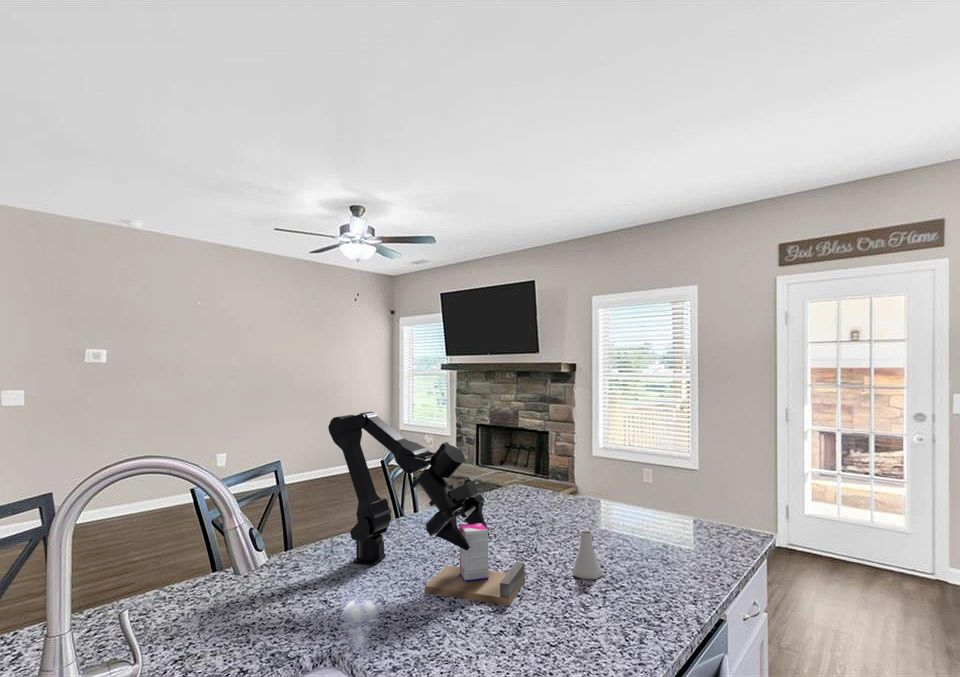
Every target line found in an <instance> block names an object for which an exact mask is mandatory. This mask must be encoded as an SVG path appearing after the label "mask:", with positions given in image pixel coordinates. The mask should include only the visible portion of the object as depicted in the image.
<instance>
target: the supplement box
mask: <svg viewBox="0 0 960 677" xmlns="http://www.w3.org/2000/svg"><path fill="white" fill-rule="evenodd" d="M459 530H460V532H461V533H462V535H463V536H464V538H465V539H466V541H467V543H468V545H469V546H470V548H469V549H468V550H467V551H466V550H464V549H462V548H460V547H459V567H460V574H461V576H462V578H463V580H464V581H465V583H467V582H474V581H482V580H488V579H489V571H490V570H489V536H488V532H489V528H488V527H487V528H486V527H485V526H484V525H483V524H482V523H476V524H468V523H466V524H459Z"/></svg>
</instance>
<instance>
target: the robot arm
mask: <svg viewBox="0 0 960 677" xmlns="http://www.w3.org/2000/svg"><path fill="white" fill-rule="evenodd" d="M327 428H328V433H329V434H330V436H331V440H332V441H333V443H335V445H336V446H338V448H339V449H340V450H342V453H343V457H344V459H345V463H346V466H347V469H348V472H349V475H350V479H351V482H352V484H353V488H354V492H355V495H356V498H357V501H358V504H357V509H356V518H357V522H356V524H355V525H354V526H353V527H352V528H351V529H350V531H349V533H350V538H351V540H353V541H355V544H356V545H355V546H356V548H355V549H356V554H355V555H356V558H354V559H353V560H352V562H353V563H356V564H357V563H358V564H364V565H370V566H371V565H372V566H374V565H376V564H378V562H380V561H381V560H383V559H385V558H386V557H387V554H386V553H385V542H384V540H383V539H384V538H383V537H384V535H383V534H385V533H387V530H388V527H389V526H390V523H391V521H392V514H391V513H393V511H392V510H391V509H390V506H389V501H388V499H387V498H386V497H385V498H381V496H379V495H378V494H377V490H376V489H375V485H374V482H373V479H372V476H371V473H370V470H369V467H368V465H367V460H366V458H365V455H364V452H363V448H362V445H361V441H362V436H363V431H362V429H363V430H364V431H366V432H367V433H368V434H369V435H370V436H372V438H374V439H375V440H376V441H377V442H379V443H380V444H381V445H382V446H383V447H385V449H387V450H388V451H389V452H390V453H391V454H392V455H393V457H394V461H395V463H396V464H397V466H399V468H400V469H401V470H402V471H403V472H404V473H406V474H414V473H416V472H420V473H419V474H417V475H415V476H412V483H411V488H412V489H416V488H419V487H421V488H422V491H423V492H424V493H425V494H426V495H427V497H428V498H429V499H430V501H429V503H428V504H429V506H430V507H433V506H435V507H436V509H437V510H438V511H437V512H436V513H435V514H434V515H432V517H430V519H429V520H428V521H427V522H426V524H425V530H426V532H427V534H428V535H429V536H430V537H433V536H434V537H435V538H436V539H437V538H440V539H442V540H445V541H447V542H449V543H450V544H453V545H454V546H456V547H459V549H460V548H462V549H464V550H466V551H467V550H468V549H469V548H470V546H469V545H468V543H467V541H466V539H465V538H464V536H463V535H462V533H461V532H460V528H459V527H458V525H457V524H458V521H457V518H458V517H459V516H461V517H462V518H465V519H464V522H466V524H476V523H482V524H483V525H484V526H485V527H486V528H487V529H488V527H487V523H486V520H485V518H484V514H483V507H484V505H485V504H484V503H485V501H486V499H485V498H484V496H482V494H480V493H479V488H480V482H478V481H477V479H475V478H474V476H471V477H469V478H466V479H464V481H463V484H462V485H460V486H457V485H456V484H455V483H451V484H449V482H448V481H447V479H449V478H451V477H452V476H453V475H454V474H455V473H456V471H457V470H459V468H460V467H461V466H462V465H463V464H464V462H465V461H466V459H465V458H466V457H465V454H464V453H463V451H461V450H462V449H459V448H457V447H456V446H454V445H451V444H450V443H449V442H448V441H445V442H442V443H441V444H440V445H439V447H438V449H437V450H436V451H435V452H432V451H429V449H428V448H426V447H425V446H423V445H422V444H419V443H418V442H414V441H411V440H408V439H406V438H404V436H402V435H401V434H400V433H399V432H397V431H396V430H395V429H394V428H393V427H392V426H390V425H389V424H388V423H387V422H385V421H384V420H383V419H382V418H380V417H379V415H378V414H377V413H376V412H374V411H366V412H365V411H364V412H361V413H359V414H346V415H340V416H335V417H332V419H330V421H329V424H328V427H327ZM488 537H490V532H489V531H488Z"/></svg>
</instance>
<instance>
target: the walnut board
mask: <svg viewBox="0 0 960 677" xmlns="http://www.w3.org/2000/svg"><path fill="white" fill-rule="evenodd" d="M525 568H526V567H525V562H521V561H515V563H514V564H513V565H512V566H511V568H510V569H508V570H509V571H508V572H498V571H492V570H489V579H488V580H482V581H474V582H467V583H465V581H464V580H463V578H462V576H461V574H460V566H455V565H454V566H453V565H452V566H451V565H446V566H445V567H444V568H442V569H441V570H440V572H438V573H437V574H436V575H435V576H434V577H433V578H431V580H430V581H429V582H427V584H425V585H424V593H425V594H430V595H437V596H444V597H451V598H457V599H464V600H468V601H469V600H470V601H477V602H481V603H490V604H495V605H501V604H502V606H508V605H511V604H512V603H513V601H514V600H513V599H515V598H516V597H515V596H517V595H518V594H519V592H520V591H519V590H521V589H522V588H523V587H524V585H525V583H526V574H525V572H526V571H525V570H526V569H525ZM523 584H524V585H523ZM521 587H522V588H521ZM517 593H518V594H517ZM511 602H512V603H511Z"/></svg>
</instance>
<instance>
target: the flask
mask: <svg viewBox="0 0 960 677" xmlns="http://www.w3.org/2000/svg"><path fill="white" fill-rule="evenodd" d="M578 533H579V536H580V543H579V544H580V545H579V549H578V553H577V557H576V559H575V563H574V565H573V568H572V574H573V575H572V576H573V577H577V578H580V579H583V580H597V579H599V578H600V577H602V576H603V572H602V569H601V567H600V563H599V561H598V559H597V556H596V553H595V549H594V546H593V541H592V539H593V538H592V537H593V534H594V533H593V531H592V530H587V529H582V530H579V532H578Z"/></svg>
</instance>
